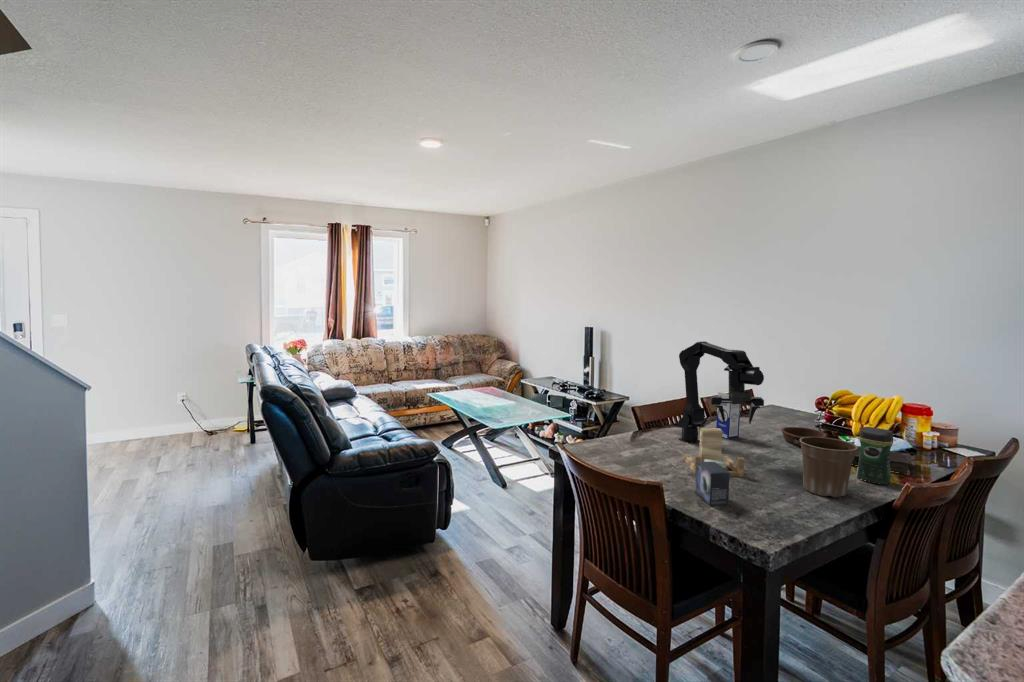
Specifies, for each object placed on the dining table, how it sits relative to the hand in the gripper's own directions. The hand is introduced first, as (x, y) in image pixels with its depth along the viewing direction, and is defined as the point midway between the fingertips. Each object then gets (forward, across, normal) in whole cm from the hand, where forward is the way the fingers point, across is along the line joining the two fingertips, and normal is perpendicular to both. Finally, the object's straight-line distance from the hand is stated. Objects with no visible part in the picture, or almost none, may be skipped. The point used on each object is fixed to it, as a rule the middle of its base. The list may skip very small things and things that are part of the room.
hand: (736, 423), depth 206 cm
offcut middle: (+14, -9, -21) cm, 26 cm away
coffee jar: (+17, +43, -9) cm, 47 cm away
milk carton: (+12, -2, +32) cm, 35 cm away
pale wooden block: (+14, -10, -14) cm, 22 cm away
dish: (+14, +29, +35) cm, 47 cm away
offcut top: (+12, -9, -21) cm, 25 cm away
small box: (+16, -11, -47) cm, 51 cm away
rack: (+14, -10, -17) cm, 24 cm away
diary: (+16, +48, +13) cm, 52 cm away
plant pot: (+17, +24, -26) cm, 40 cm away
